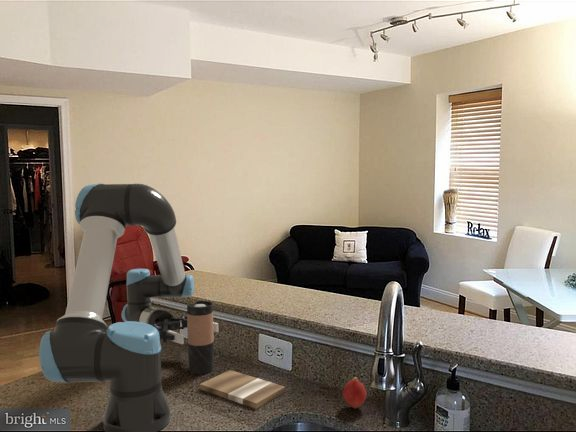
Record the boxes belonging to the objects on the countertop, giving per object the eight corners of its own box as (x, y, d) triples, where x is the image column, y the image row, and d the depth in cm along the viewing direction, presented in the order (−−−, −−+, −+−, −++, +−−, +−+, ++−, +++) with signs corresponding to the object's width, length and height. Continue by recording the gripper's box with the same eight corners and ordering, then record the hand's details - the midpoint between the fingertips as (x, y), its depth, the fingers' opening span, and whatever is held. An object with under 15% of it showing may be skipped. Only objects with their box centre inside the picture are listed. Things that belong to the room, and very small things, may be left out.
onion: (338, 408, 126) (338, 377, 126) (351, 400, 131) (351, 370, 130) (357, 415, 122) (357, 383, 122) (370, 407, 127) (371, 376, 126)
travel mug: (212, 374, 148) (210, 307, 146) (186, 374, 148) (184, 307, 146) (216, 364, 156) (214, 300, 154) (191, 364, 156) (189, 300, 154)
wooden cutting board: (285, 392, 136) (285, 386, 136) (256, 409, 126) (256, 403, 126) (230, 374, 148) (229, 369, 148) (199, 389, 138) (199, 383, 138)
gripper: (187, 323, 175) (231, 335, 162) (123, 342, 156) (167, 357, 142) (186, 301, 174) (230, 311, 161) (122, 318, 155) (166, 331, 142)
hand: (201, 333), depth 152 cm, fingers open, 13 cm apart
